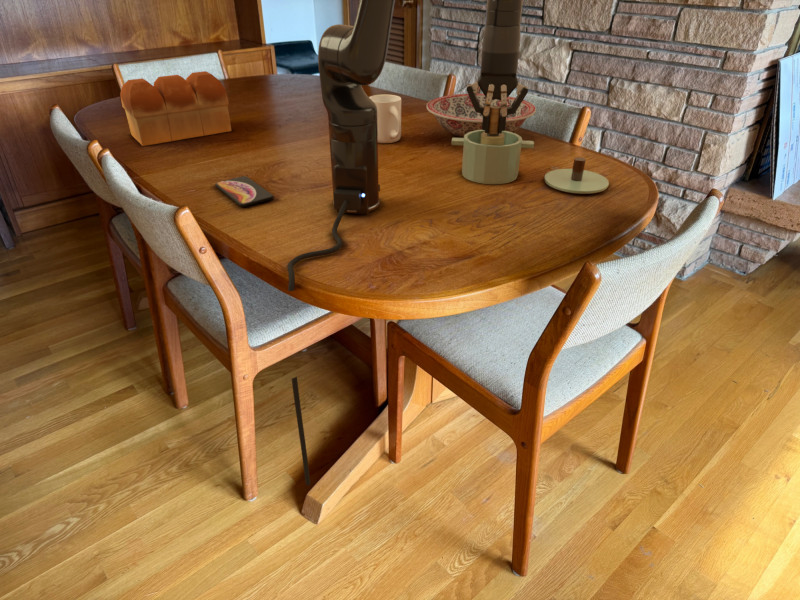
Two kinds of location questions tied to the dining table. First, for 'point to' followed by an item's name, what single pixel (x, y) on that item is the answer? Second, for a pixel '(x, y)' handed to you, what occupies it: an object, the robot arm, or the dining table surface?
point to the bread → (175, 107)
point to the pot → (491, 158)
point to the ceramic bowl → (473, 113)
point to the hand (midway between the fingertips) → (493, 132)
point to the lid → (576, 179)
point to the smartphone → (244, 191)
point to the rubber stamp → (493, 129)
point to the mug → (388, 117)
